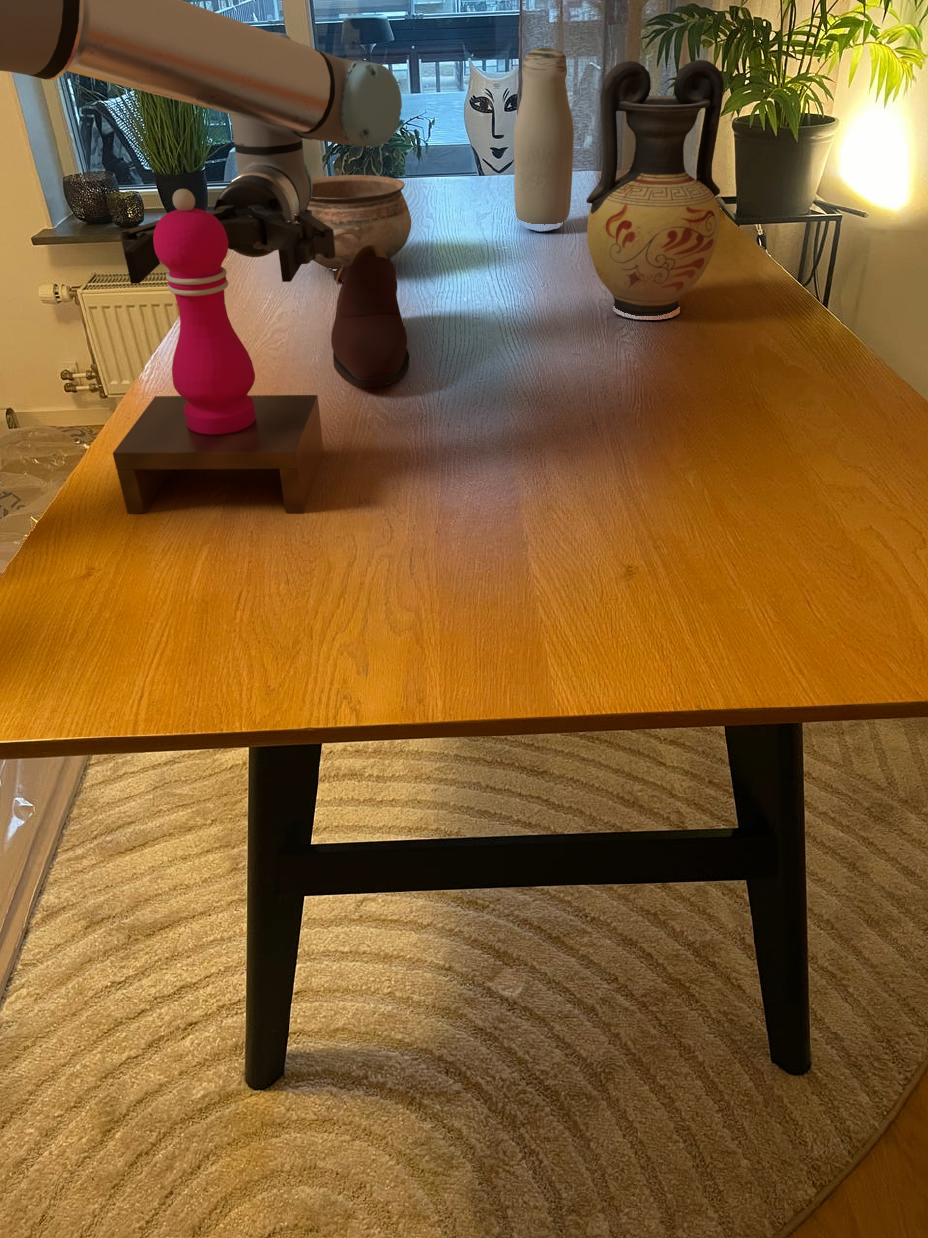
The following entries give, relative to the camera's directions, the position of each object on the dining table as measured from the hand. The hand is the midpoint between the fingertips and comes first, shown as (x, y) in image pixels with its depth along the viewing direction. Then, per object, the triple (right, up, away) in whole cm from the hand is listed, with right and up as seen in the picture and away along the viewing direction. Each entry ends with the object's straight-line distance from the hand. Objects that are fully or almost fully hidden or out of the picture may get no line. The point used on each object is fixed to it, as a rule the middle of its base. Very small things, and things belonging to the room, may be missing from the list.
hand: (207, 267), depth 85 cm
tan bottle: (+36, +38, +87) cm, 101 cm away
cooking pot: (+5, +24, +68) cm, 73 cm away
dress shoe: (+11, +1, +35) cm, 37 cm away
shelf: (0, -18, +7) cm, 19 cm away
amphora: (+47, +11, +48) cm, 68 cm away
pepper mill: (0, -13, +4) cm, 14 cm away
